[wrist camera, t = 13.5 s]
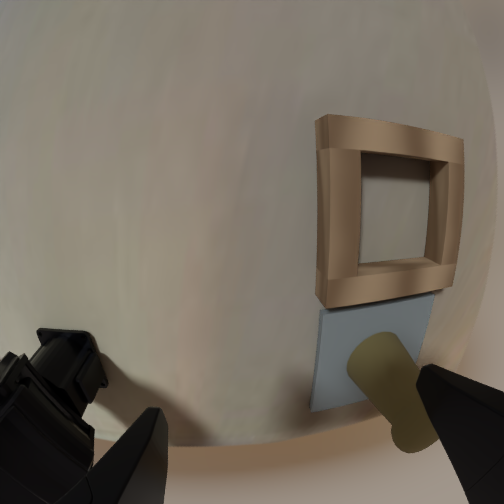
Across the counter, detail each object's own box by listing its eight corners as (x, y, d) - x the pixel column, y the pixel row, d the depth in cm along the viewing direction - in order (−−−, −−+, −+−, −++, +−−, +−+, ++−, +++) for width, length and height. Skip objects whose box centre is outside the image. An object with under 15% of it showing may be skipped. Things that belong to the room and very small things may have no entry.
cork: (380, 320, 22) (455, 400, 11) (409, 346, 23) (472, 414, 13) (334, 369, 23) (384, 462, 12) (368, 388, 24) (416, 464, 14)
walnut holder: (315, 294, 21) (325, 308, 19) (314, 120, 17) (327, 114, 15) (436, 276, 22) (452, 286, 20) (444, 140, 18) (463, 139, 16)
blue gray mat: (309, 407, 25) (311, 412, 24) (320, 310, 21) (323, 314, 21) (404, 382, 26) (407, 386, 25) (430, 291, 22) (434, 294, 22)
